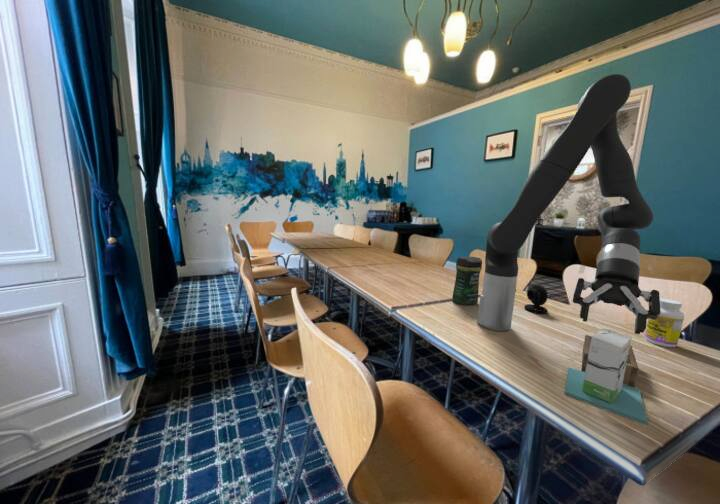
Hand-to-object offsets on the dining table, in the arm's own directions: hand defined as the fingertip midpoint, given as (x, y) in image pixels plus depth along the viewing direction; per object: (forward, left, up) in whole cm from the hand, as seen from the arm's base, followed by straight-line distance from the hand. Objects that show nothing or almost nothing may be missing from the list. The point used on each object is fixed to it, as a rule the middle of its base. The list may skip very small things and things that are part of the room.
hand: (610, 325), depth 60 cm
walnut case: (+1, +9, -13) cm, 16 cm away
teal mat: (0, -5, -13) cm, 14 cm away
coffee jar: (-41, +32, -13) cm, 53 cm away
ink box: (0, -5, -13) cm, 14 cm away
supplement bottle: (+14, +38, -13) cm, 42 cm away
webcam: (-18, +42, -13) cm, 47 cm away
